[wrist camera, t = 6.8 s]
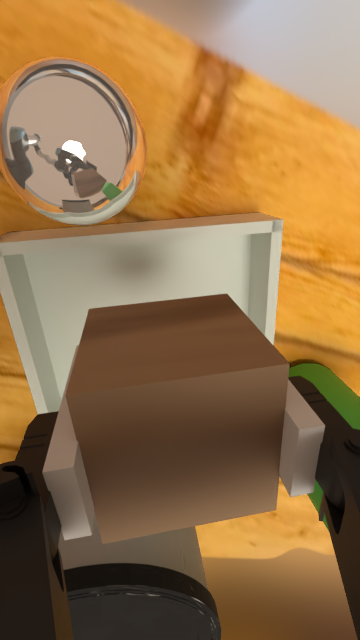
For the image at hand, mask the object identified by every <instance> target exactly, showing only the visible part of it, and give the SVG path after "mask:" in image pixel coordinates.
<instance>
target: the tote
mask: <svg viewBox="0 0 360 640" xmlns="http://www.w3.org/2000/svg"><path fill="white" fill-rule="evenodd" d="M282 231H283V219H280V218H276V217H273V216H270V215H266V214H263V213H259V212H258V213H245V214H232V215H220V216H207V217H194V218H182V219H169V220H156V221H144V222H131V223H118V224H106V225H93V226H80V227H68V228H55V229H42V230H30V231H17V232H8V233H6V234H4V235H2V236H0V293H1V296H2V299H3V302H4V306H5V309H6V312H7V316H8V319H9V322H10V325H11V329H12V332H13V335H14V338H15V342H16V345H17V348H18V351H19V355H20V358H21V361H22V364H23V368H24V371H25V374H26V377H27V381H28V384H29V387H30V390H31V394H32V397H33V400H34V403H35V407H36V410H37V413H38V414H43V413H50V412H57V411H59V409H60V405H61V401H62V397H63V394H64V390H65V386H66V383H67V379H68V375H69V372H70V368H71V364H72V361H73V357H74V353H75V349H76V346H77V345H79V343H80V340H81V336H82V332H83V329H84V325H85V321H86V318H87V314H88V310H89V309H91V308H100V307H109V306H118V305H128V304H137V303H146V302H155V301H164V300H173V299H182V298H191V297H200V296H209V295H218V294H228V295H229V296H230V297H231V298H232V300H233V301H234V302H235V303H236V304H237V305H238V306H239V307H240V309H241V310H242V311H243V312H244V313H245V314H246V315H247V316H248V318H249V319H250V320H251V321H252V322H253V323H254V324H255V325H256V327H257V328H258V329H259V330H260V331H261V332H262V333H263V334H264V336H265V337H266V338H267V339H268V340H269V341H270V342H271V343H272V345H273V346H274V333H275V321H276V308H277V295H278V282H279V270H280V257H281V244H282Z"/></svg>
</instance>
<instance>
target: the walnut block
mask: <svg viewBox="0 0 360 640" xmlns="http://www.w3.org/2000/svg"><path fill="white" fill-rule="evenodd" d="M289 366H290V364H289V363H288V361H287V360H286V359H285V358H284V357H283V356H282V355H281V354H280V352H279V351H278V350H277V349H276V348H275V347H274V346H273V345H272V343H271V342H270V341H269V340H268V339H267V338H266V337H265V336H264V334H263V333H262V332H261V331H260V330H259V329H258V328H257V327H256V325H255V324H254V323H253V322H252V321H251V320H250V319H249V318H248V316H247V315H246V314H245V313H244V312H243V311H242V310H241V309H240V307H239V306H238V305H237V304H236V303H235V302H234V301H233V300H232V298H231V297H230V296H229V295H228V294H218V295H209V296H200V297H191V298H182V299H173V300H164V301H155V302H146V303H137V304H128V305H118V306H109V307H100V308H91V309H89V310H88V314H87V318H86V321H85V325H84V329H83V332H82V336H81V340H80V343H79V347H78V351H77V354H76V358H75V362H74V365H73V369H72V373H71V376H70V380H69V384H68V387H67V391H66V395H65V396H66V400H67V404H68V408H69V412H70V416H71V420H72V424H73V428H74V432H75V436H76V440H77V441H78V443H79V447H80V451H81V455H82V459H83V464H84V468H85V472H86V476H87V480H88V484H89V488H90V492H91V496H92V500H93V504H94V512H95V516H96V520H97V524H98V528H99V532H100V536H101V540H102V544H105V543H111V542H116V541H121V540H126V539H131V538H136V537H141V536H146V535H151V534H156V533H162V532H167V531H172V530H177V529H182V528H187V527H192V526H197V525H202V524H207V523H213V522H218V521H223V520H228V519H233V518H238V517H243V516H248V515H253V514H258V513H264V512H269V511H274V510H276V506H277V495H278V484H279V466H280V456H281V445H282V435H283V425H284V414H285V409H286V398H287V387H288V376H289Z"/></svg>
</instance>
